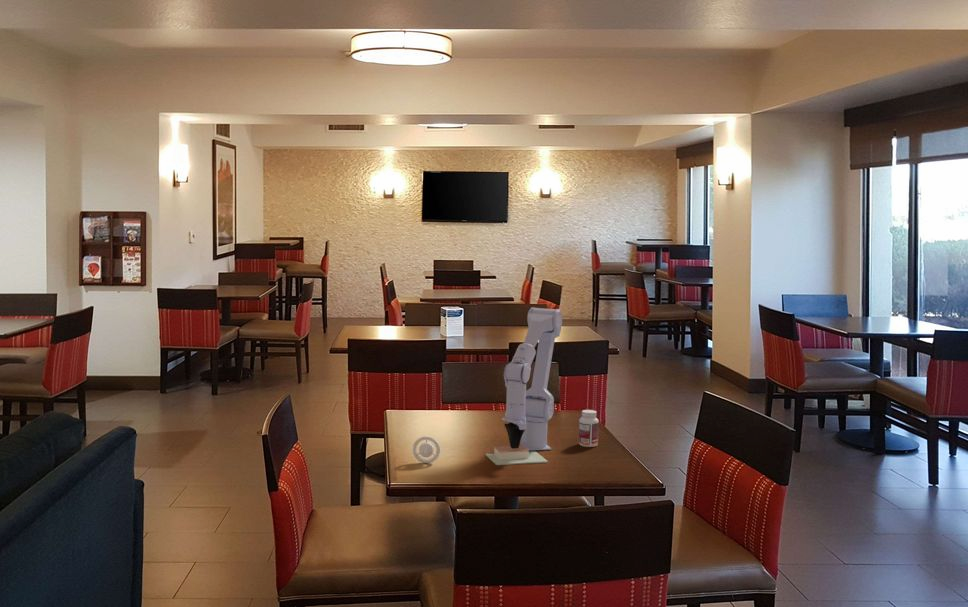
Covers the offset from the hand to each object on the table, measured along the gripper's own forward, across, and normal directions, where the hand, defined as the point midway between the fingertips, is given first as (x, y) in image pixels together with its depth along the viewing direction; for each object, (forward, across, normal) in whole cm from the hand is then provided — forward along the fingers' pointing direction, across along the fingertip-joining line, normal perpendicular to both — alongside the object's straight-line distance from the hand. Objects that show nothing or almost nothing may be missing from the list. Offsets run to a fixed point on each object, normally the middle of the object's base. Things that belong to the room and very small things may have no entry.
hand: (514, 447), depth 268 cm
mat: (+4, -1, +1) cm, 4 cm away
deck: (+2, +1, 0) cm, 2 cm away
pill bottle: (+4, -12, +29) cm, 32 cm away
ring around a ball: (+4, 0, -27) cm, 27 cm away
